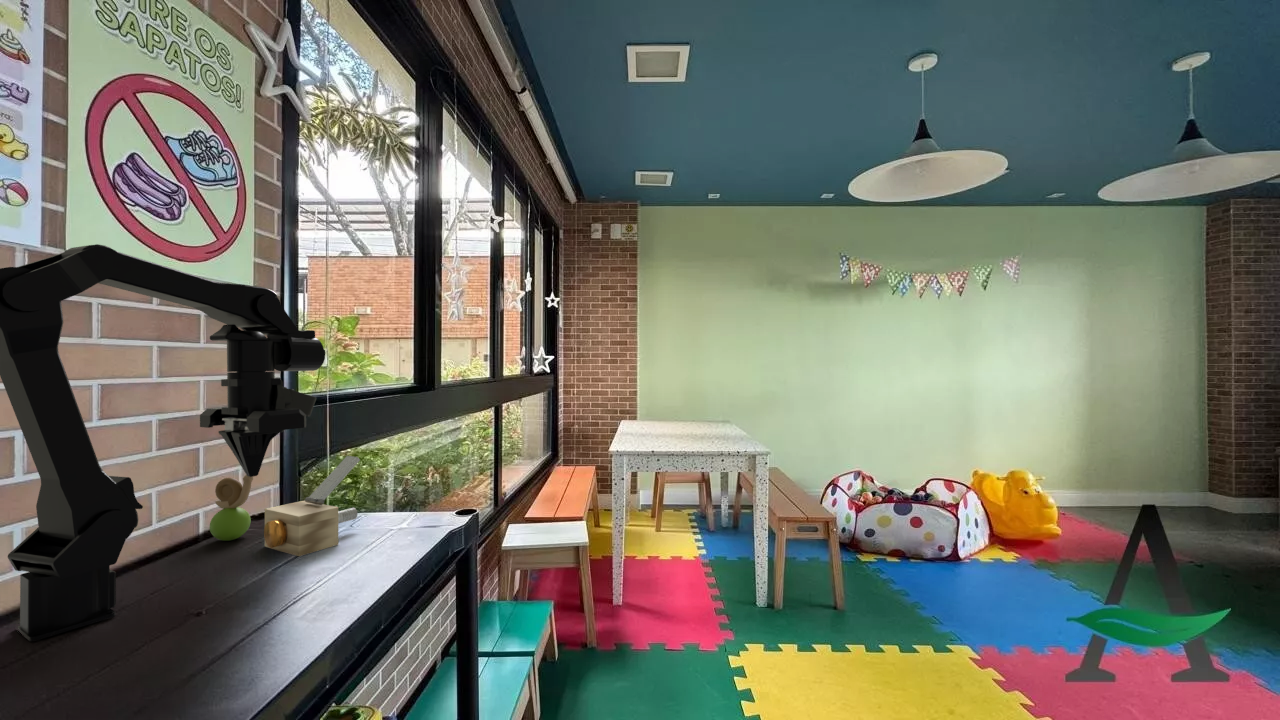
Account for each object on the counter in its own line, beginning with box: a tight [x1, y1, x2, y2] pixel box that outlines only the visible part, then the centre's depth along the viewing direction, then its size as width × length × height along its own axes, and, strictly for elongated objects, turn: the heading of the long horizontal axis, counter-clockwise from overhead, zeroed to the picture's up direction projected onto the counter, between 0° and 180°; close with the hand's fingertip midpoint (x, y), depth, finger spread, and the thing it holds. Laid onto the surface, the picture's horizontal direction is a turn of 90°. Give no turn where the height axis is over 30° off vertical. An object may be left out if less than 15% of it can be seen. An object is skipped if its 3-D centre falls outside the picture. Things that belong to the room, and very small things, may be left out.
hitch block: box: [264, 500, 339, 557], centre depth 84 cm, size 6×10×6 cm, turn 61°
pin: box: [263, 507, 359, 549], centre depth 86 cm, size 13×4×4 cm, turn 151°
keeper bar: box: [304, 455, 361, 505], centre depth 88 cm, size 9×4×1 cm
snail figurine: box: [209, 474, 254, 542], centre depth 87 cm, size 5×6×12 cm
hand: (252, 476), depth 78 cm, fingers closed
